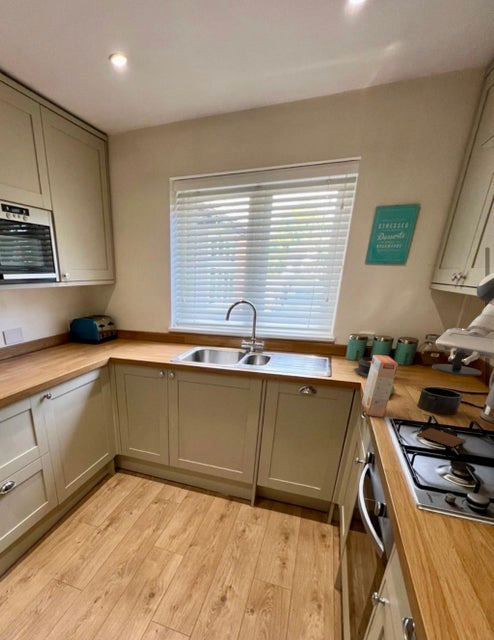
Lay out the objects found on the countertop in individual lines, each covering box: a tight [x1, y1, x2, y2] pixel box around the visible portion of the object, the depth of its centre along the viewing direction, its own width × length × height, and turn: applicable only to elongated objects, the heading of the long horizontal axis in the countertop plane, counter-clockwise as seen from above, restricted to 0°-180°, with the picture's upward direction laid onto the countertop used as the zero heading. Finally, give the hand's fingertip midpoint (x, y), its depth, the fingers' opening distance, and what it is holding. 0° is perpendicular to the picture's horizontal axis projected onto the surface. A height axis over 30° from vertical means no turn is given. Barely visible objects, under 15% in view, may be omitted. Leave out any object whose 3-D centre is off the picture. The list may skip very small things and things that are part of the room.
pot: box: [416, 386, 464, 419], centre depth 128 cm, size 12×18×8 cm
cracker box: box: [361, 354, 399, 418], centre depth 126 cm, size 14×6×21 cm, turn 161°
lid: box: [431, 352, 482, 377], centre depth 110 cm, size 13×13×7 cm
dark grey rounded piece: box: [354, 356, 373, 378], centre depth 177 cm, size 25×19×8 cm
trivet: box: [416, 427, 466, 448], centre depth 107 cm, size 10×10×1 cm
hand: (457, 362), depth 110 cm, fingers closed on lid, 2 cm apart
